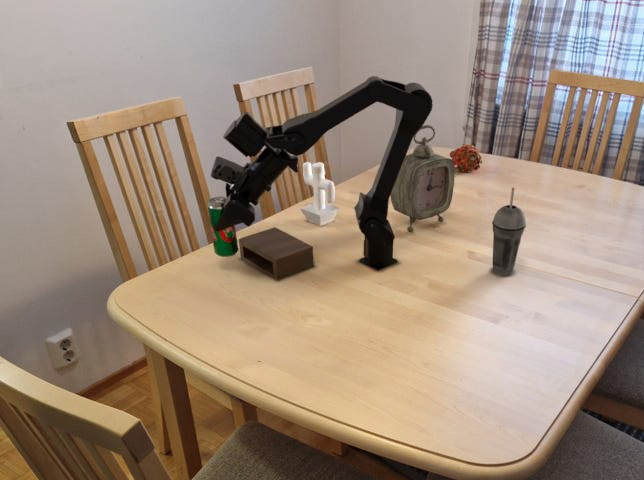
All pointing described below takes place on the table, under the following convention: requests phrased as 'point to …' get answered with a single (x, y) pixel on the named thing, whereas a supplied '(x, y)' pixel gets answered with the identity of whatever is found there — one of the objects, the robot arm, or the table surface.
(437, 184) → the tabletop clock
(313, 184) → the figurine
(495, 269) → the beverage cup
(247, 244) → the shelf
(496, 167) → the table surface
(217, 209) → the soda can
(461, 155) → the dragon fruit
